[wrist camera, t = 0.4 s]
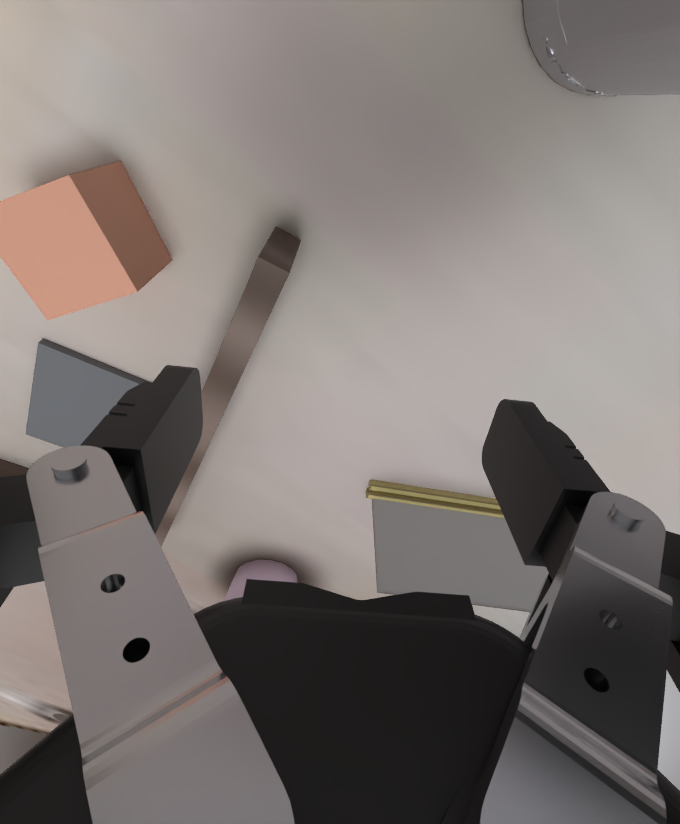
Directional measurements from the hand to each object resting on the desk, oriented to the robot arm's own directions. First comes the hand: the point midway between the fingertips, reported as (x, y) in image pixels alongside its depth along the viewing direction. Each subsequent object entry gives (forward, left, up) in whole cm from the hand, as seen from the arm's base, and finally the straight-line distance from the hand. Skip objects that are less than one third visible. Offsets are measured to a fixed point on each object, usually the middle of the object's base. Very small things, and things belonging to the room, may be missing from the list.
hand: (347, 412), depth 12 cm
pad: (+20, -11, -17) cm, 29 cm away
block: (+6, -13, -17) cm, 22 cm away
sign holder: (+14, +21, -18) cm, 31 cm away
